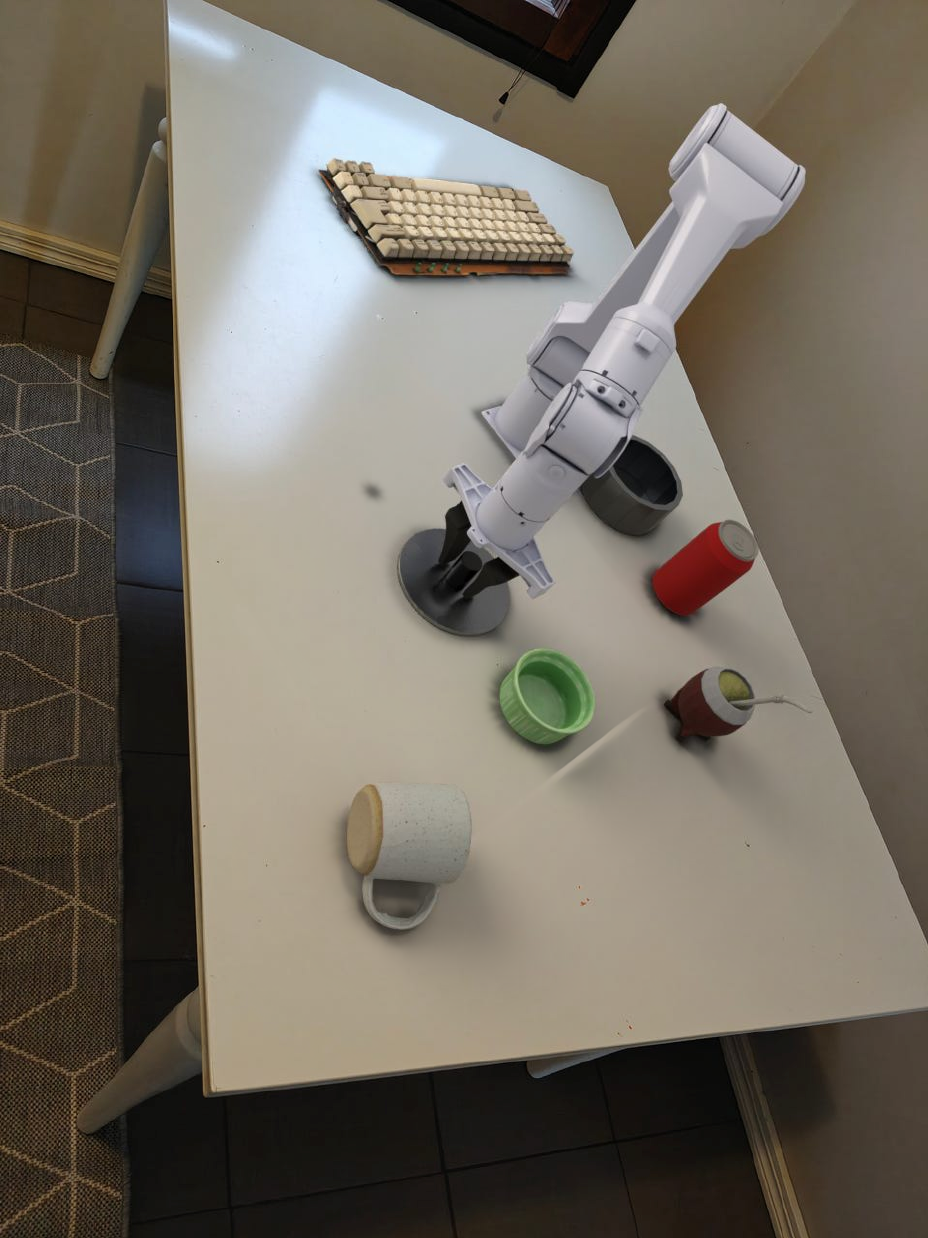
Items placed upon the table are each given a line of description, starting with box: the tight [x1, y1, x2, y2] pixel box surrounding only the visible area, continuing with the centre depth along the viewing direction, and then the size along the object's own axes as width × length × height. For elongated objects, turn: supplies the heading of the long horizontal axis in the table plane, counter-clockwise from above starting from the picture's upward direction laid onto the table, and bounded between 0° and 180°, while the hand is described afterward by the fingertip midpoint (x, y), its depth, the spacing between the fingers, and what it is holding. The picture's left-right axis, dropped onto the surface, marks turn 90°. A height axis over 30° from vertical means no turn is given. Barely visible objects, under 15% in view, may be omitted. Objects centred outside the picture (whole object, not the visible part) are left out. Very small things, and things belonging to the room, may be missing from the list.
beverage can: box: [652, 519, 759, 616], centre depth 99 cm, size 7×7×12 cm
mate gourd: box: [663, 666, 814, 743], centre depth 88 cm, size 8×8×15 cm
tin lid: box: [396, 528, 511, 637], centre depth 86 cm, size 13×13×5 cm
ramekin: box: [499, 647, 596, 745], centre depth 83 cm, size 9×9×4 cm
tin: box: [580, 434, 684, 536], centre depth 107 cm, size 12×12×5 cm
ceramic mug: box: [346, 781, 473, 931], centre depth 66 cm, size 11×8×8 cm
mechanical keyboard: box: [317, 157, 575, 277], centre depth 121 cm, size 38×19×3 cm, turn 125°
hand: (458, 576), depth 86 cm, fingers open, 4 cm apart
